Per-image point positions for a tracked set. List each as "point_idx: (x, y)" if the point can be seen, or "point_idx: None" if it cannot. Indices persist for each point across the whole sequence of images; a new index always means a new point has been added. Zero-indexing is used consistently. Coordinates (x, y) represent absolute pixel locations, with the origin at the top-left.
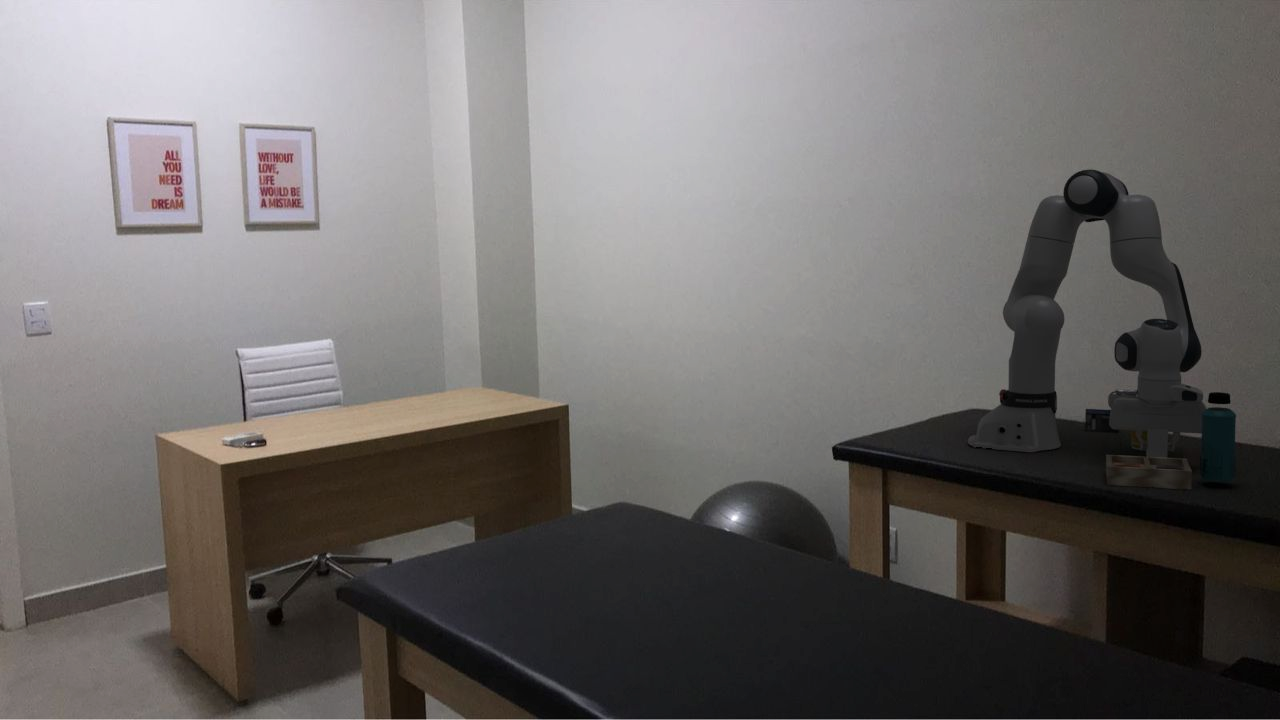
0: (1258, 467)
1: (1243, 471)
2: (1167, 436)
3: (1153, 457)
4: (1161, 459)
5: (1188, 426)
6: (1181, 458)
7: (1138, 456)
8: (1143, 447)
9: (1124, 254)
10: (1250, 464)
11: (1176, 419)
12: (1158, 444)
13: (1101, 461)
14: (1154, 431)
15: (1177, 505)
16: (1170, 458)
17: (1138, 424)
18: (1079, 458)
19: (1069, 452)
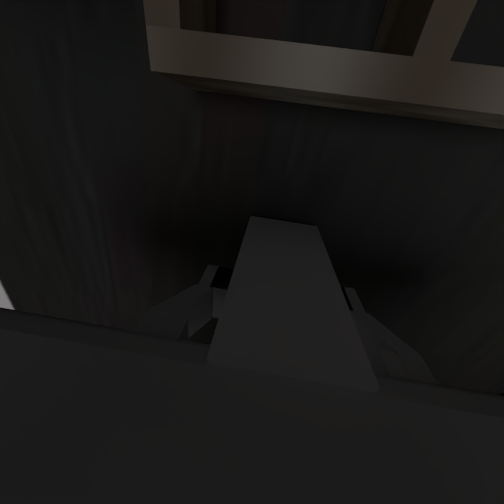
0: (13, 263)
1: (28, 213)
2: (225, 306)
3: (367, 77)
4: (317, 47)
5: (6, 368)
6: (180, 71)
7: (467, 98)
8: (342, 291)
9: None
10: (41, 290)
11: (51, 497)
12: (282, 276)
13: (428, 304)
14: (318, 353)
15: None
16: (253, 56)
17: (496, 453)
18: (478, 332)
19: (457, 380)
